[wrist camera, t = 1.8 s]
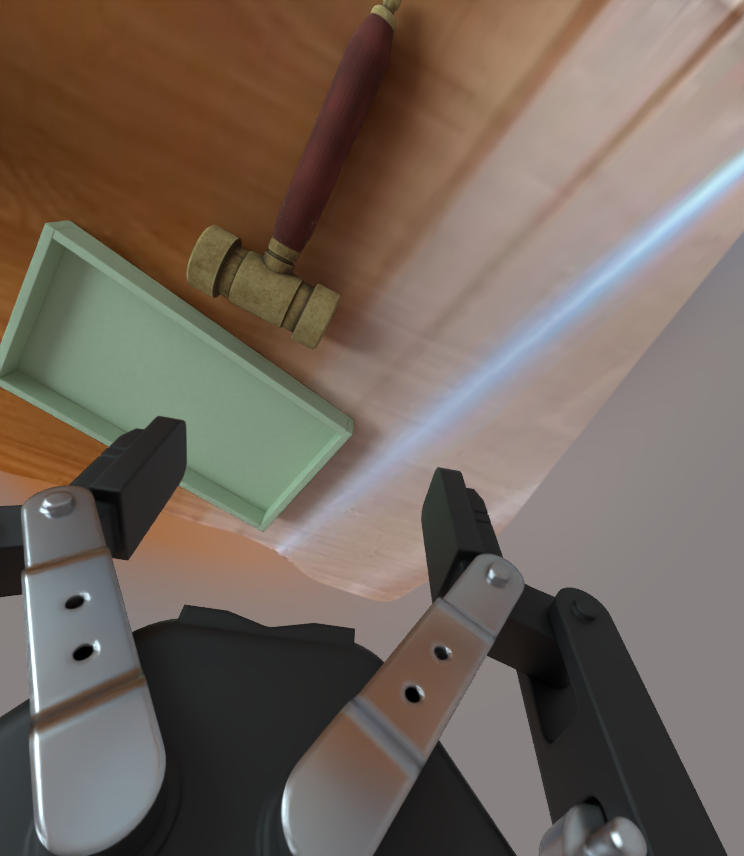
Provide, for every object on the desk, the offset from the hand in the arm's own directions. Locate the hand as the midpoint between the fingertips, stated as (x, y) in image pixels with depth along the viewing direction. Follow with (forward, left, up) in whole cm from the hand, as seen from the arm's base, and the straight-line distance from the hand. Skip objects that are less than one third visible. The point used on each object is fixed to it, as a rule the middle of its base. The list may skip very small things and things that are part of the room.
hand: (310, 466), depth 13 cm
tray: (-6, -16, -23) cm, 28 cm away
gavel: (-7, +5, -23) cm, 25 cm away
